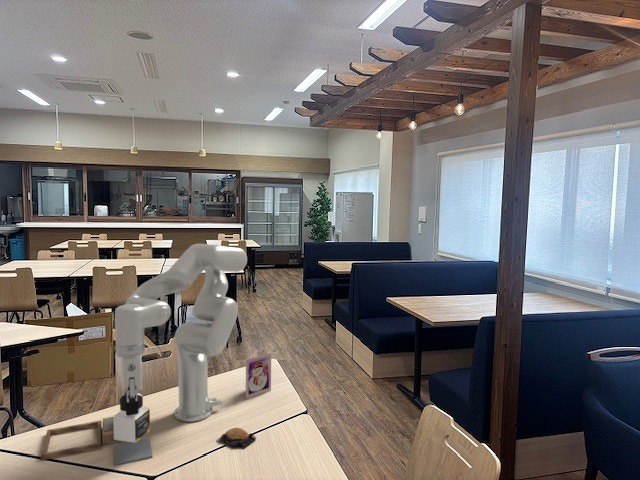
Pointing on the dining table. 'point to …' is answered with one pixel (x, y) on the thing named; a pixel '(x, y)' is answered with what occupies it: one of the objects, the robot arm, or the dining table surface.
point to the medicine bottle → (131, 422)
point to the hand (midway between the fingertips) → (131, 408)
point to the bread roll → (236, 438)
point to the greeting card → (258, 374)
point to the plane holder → (106, 439)
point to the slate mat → (132, 451)
